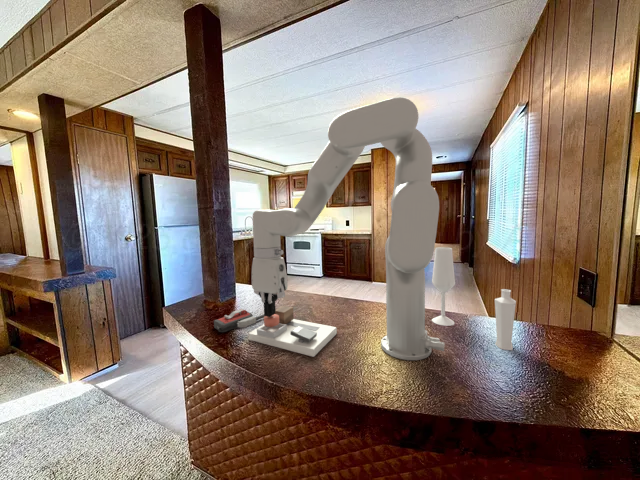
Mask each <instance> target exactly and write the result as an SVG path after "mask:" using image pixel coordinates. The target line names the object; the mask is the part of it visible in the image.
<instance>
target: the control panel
mask: <svg viewBox="0 0 640 480" xmlns="http://www.w3.org/2000/svg"><path fill="white" fill-rule="evenodd" d="M297 326H301V327H304V328H306V329H309V330H311V331H314V332H316V333H317V336H316V337H315V338H314V339H313V340H312V341H311V342H306V341H304V340H302V339H299V338H297V337H295V336H292V335H290V334H291V331H292V330H293V329H295V328H296V327H297ZM337 331H338V330H337V327H336V326H333V325H332V326H331V325H327V324H323V323H322V324H321V323H316V322H311V321H307V320H306V321H305V320H300V319H295V318H294V319H293V320H291V321H290V322H288V323H287V324H281V323H279V324H278V325H276V326H273V327H267V326H265V325H264V324H262V325H260V326H258V327H257V328H255V329H253V330H252V331H249V333H248V340H249V341H253V342H257V343H260V344H265V345H267V346H272V347H275V348H279V349H283V350H286V351H290V352H293V353H298V354H302V355H306V356H309V357H316V355H317V354H318V353H319V352H321V350H322V349H323V348H324V347H326V345H327V344H328V343H330V341H332V339H333V338H334V337H335V336H336V335H337Z"/></svg>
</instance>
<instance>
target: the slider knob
mask: <svg viewBox="0 0 640 480" xmlns="http://www.w3.org/2000/svg"><path fill="white" fill-rule="evenodd" d="M275 309H276V311H275V314H277V315H279V323H281V324H287V323H288V322H290V321H291V320H293V319H295V317H294V307H293V306H288V305H281V306H279V307H277V308H275Z"/></svg>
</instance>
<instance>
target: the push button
mask: <svg viewBox="0 0 640 480" xmlns="http://www.w3.org/2000/svg"><path fill="white" fill-rule="evenodd" d="M278 324H279V315H277V314H274V315H272V316H270V317H267V316H265V317H264V318H263V325H265V326H267V327H273V326H276V325H278Z"/></svg>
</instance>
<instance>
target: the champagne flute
mask: <svg viewBox="0 0 640 480" xmlns="http://www.w3.org/2000/svg"><path fill="white" fill-rule="evenodd" d="M433 257H434V259H433V269H432V277H431V278H432V279H431V284H432V285H433V286H434V288H435V289H437V290H438V291H439V292H441V293H440V294H441V296H440V298H441V299H440V303H441V305H440V315H438V316H435V317H434V318H432V319H431V322H432V323H434V324H436V325H439V326H445V327H446V326H447V327H449V326H454V325H455V321H454V320H453V319H451V318H449V317H447V316H446V293H448V292H449V291H451V290H452V289H453V288H454V287H455V285H456V277H455V267H454V255H453V248H452V247H443V246H442V247H441V246H440V247H434V256H433Z"/></svg>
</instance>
